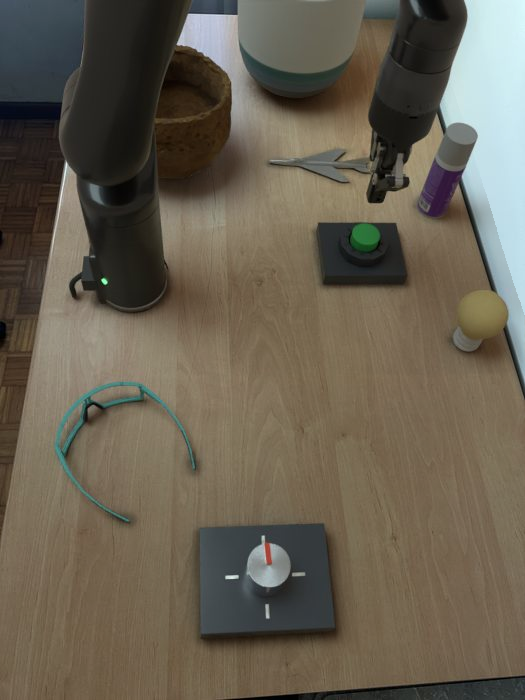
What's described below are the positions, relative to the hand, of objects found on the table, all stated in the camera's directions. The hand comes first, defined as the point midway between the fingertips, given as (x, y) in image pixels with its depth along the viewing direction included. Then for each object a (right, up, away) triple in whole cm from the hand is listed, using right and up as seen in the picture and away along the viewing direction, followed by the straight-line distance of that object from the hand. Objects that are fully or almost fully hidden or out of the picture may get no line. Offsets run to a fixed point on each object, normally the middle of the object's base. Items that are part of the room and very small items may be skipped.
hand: (374, 199), depth 89 cm
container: (+12, +2, +17) cm, 21 cm away
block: (-1, -6, +10) cm, 12 cm away
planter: (-10, +28, +30) cm, 42 cm away
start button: (0, -4, +7) cm, 9 cm away
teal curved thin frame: (-32, -33, -8) cm, 46 cm away
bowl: (-30, +10, +18) cm, 36 cm away
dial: (-15, -44, -17) cm, 50 cm away
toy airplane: (-4, +10, +20) cm, 23 cm away
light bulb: (+13, -19, +4) cm, 24 cm away
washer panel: (-15, -46, -15) cm, 51 cm away
